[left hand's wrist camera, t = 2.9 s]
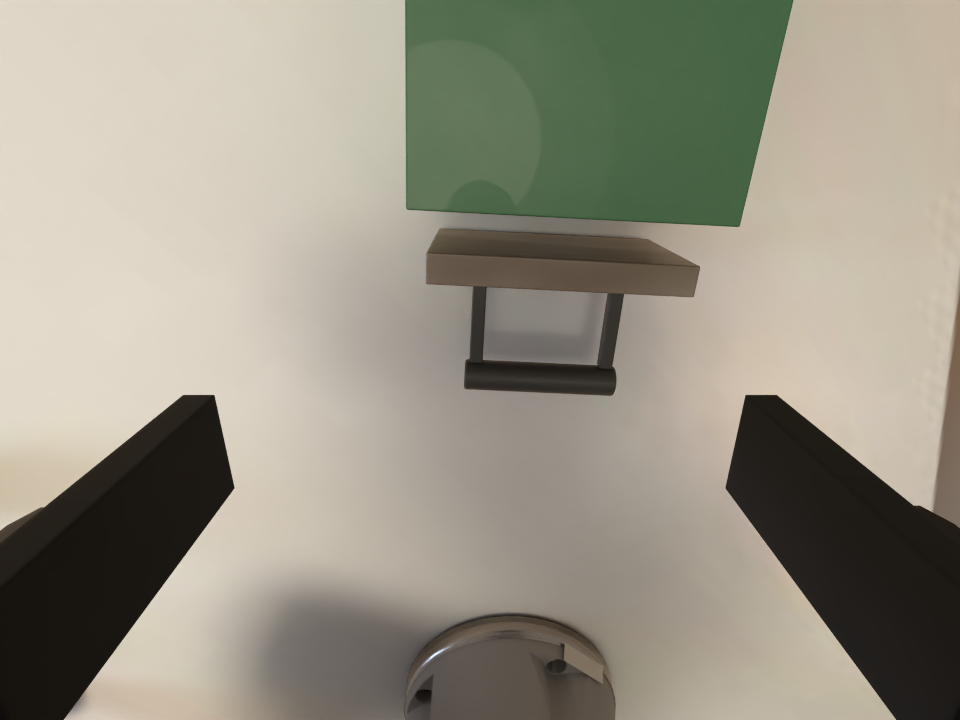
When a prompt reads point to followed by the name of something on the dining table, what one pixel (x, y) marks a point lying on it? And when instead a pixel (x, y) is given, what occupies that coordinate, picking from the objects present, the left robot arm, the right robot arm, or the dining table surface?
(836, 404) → the dining table surface
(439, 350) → the dining table surface
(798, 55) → the dining table surface
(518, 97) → the cabinet
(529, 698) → the left robot arm
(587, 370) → the drawer
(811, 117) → the dining table surface
